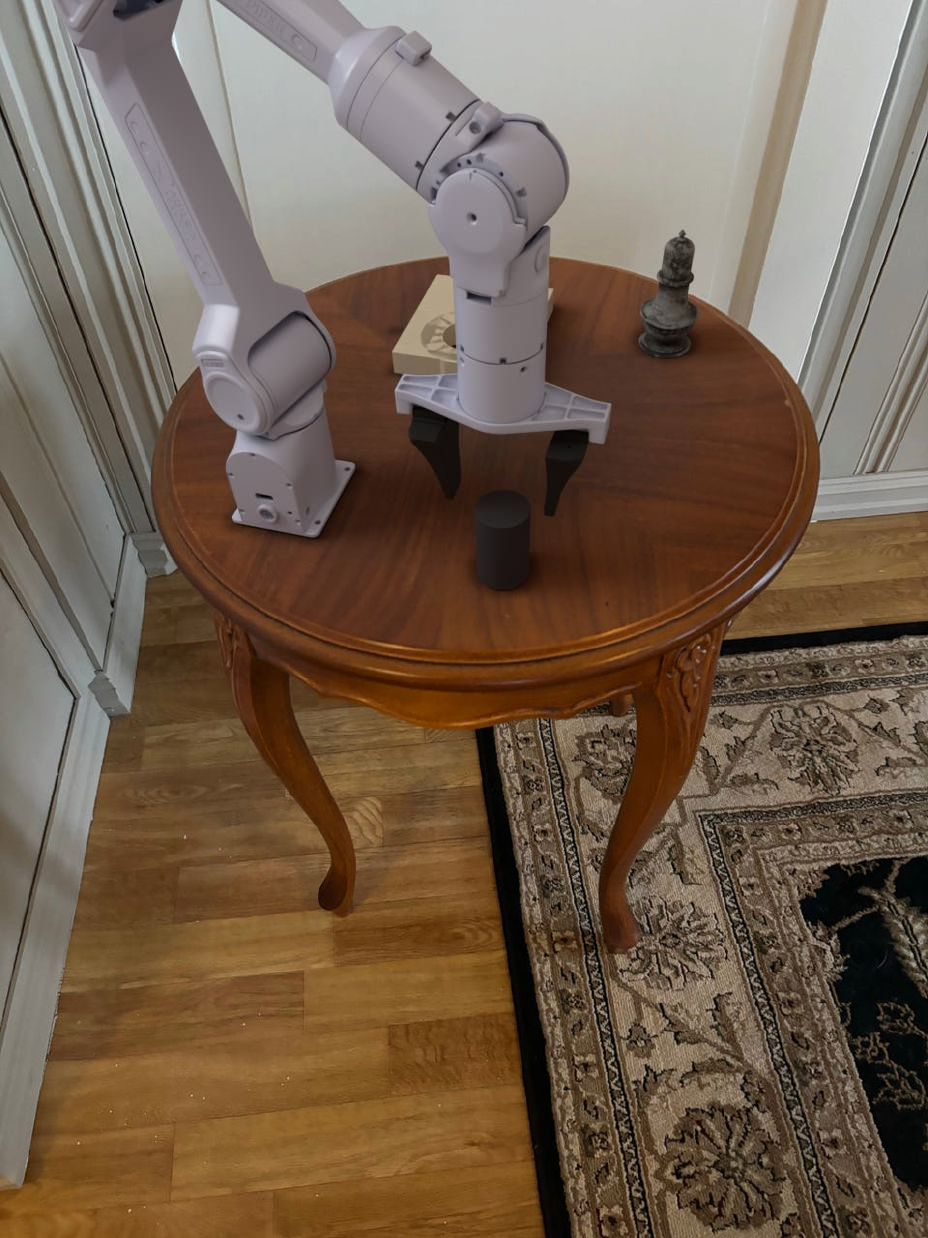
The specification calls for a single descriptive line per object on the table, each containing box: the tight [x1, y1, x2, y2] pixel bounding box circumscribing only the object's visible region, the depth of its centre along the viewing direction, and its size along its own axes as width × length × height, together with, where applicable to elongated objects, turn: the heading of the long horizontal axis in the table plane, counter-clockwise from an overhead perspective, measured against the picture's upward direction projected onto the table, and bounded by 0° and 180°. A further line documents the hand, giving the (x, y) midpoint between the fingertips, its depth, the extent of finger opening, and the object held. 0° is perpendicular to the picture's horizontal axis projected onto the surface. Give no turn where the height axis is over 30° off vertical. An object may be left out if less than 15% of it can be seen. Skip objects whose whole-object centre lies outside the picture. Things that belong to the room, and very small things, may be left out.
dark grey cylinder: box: [474, 489, 532, 592], centre depth 69 cm, size 4×4×7 cm
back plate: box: [391, 273, 555, 375], centre depth 92 cm, size 15×13×2 cm
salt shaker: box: [638, 229, 700, 359], centre depth 87 cm, size 6×6×12 cm
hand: (501, 498), depth 66 cm, fingers open, 7 cm apart
